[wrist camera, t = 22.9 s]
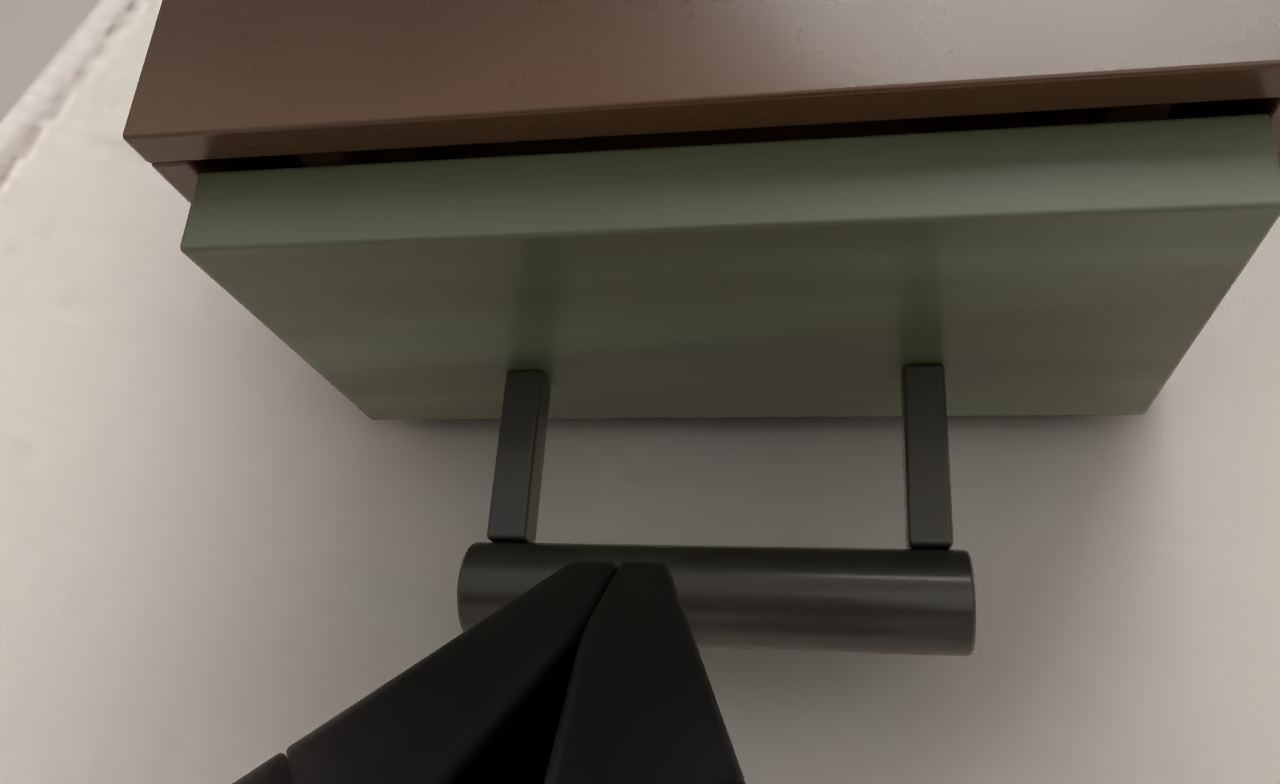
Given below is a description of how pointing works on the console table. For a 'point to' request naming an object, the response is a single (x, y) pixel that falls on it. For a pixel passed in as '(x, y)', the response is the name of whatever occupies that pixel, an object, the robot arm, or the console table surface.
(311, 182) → the drawer
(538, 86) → the cabinet
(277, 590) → the console table surface
